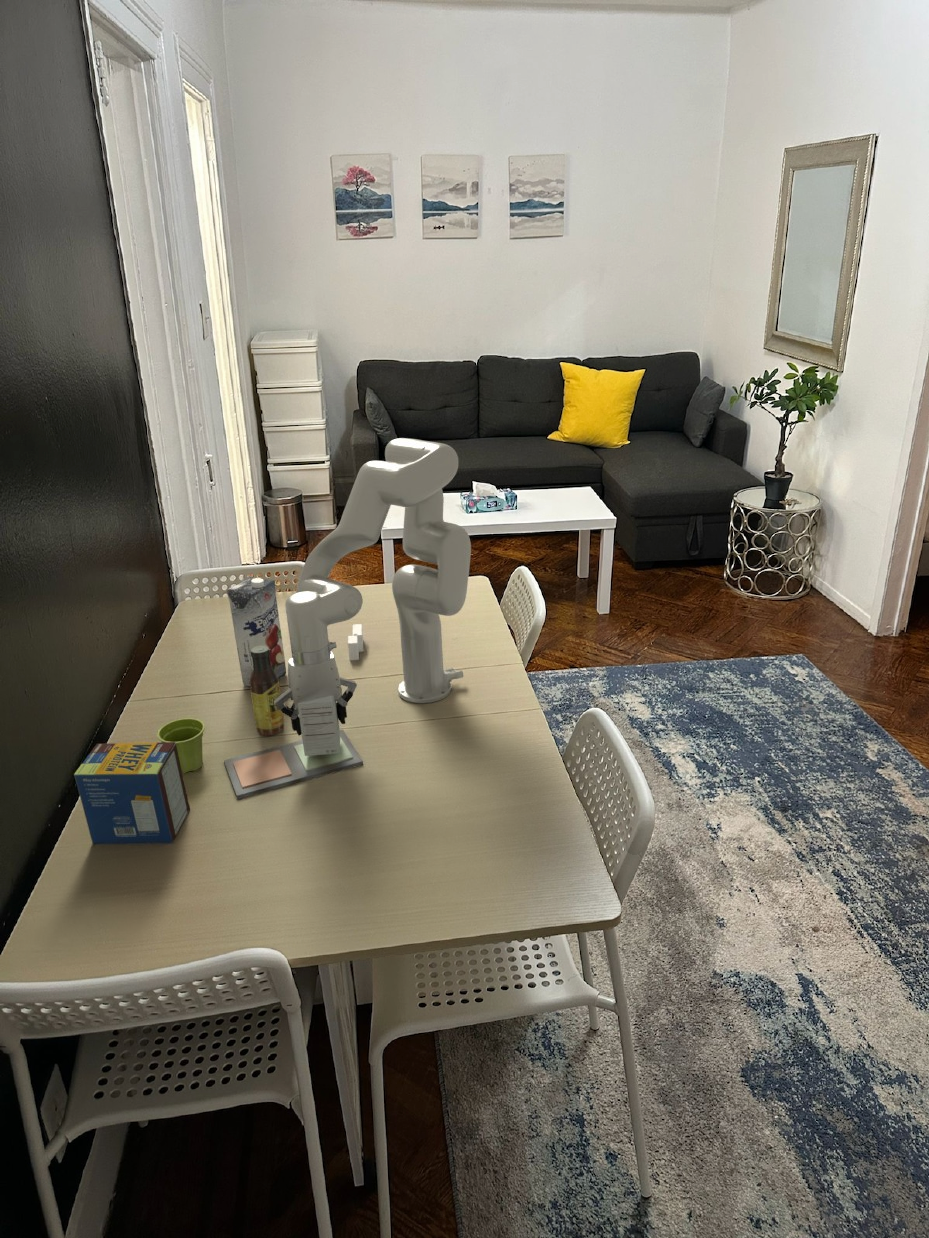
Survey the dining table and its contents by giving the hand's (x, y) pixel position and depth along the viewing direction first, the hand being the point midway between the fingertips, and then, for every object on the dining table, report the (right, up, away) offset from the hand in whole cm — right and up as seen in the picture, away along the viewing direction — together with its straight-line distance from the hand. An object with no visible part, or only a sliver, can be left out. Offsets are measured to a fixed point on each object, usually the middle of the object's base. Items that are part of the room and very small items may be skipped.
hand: (320, 726), depth 184 cm
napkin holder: (+1, +13, +48) cm, 50 cm away
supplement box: (0, -5, +2) cm, 5 cm away
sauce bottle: (-13, -2, +14) cm, 19 cm away
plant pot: (-28, -9, +2) cm, 29 cm away
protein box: (-31, -17, -17) cm, 39 cm away
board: (-6, -8, +1) cm, 10 cm away
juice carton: (-19, +7, +35) cm, 41 cm away
